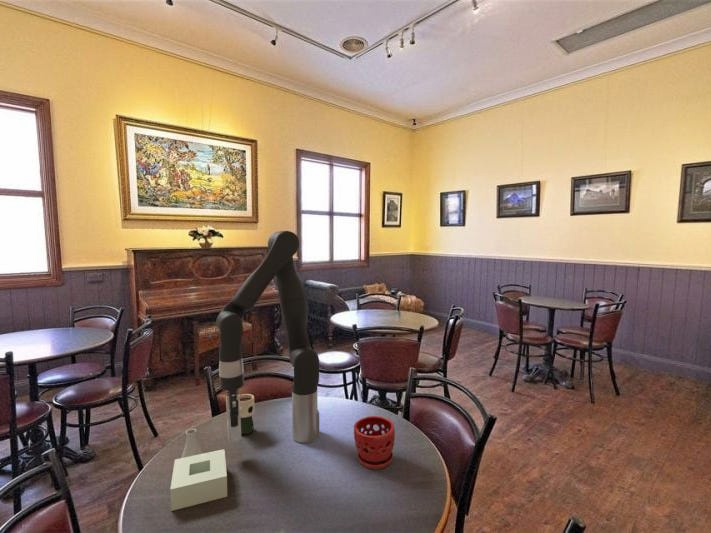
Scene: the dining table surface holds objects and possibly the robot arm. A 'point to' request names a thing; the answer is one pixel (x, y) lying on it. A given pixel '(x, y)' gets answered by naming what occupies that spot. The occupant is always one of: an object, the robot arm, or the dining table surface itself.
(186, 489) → the well block
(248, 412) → the character mug
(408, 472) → the dining table surface
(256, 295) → the robot arm
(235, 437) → the rectangular block
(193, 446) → the flask
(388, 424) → the plant pot
